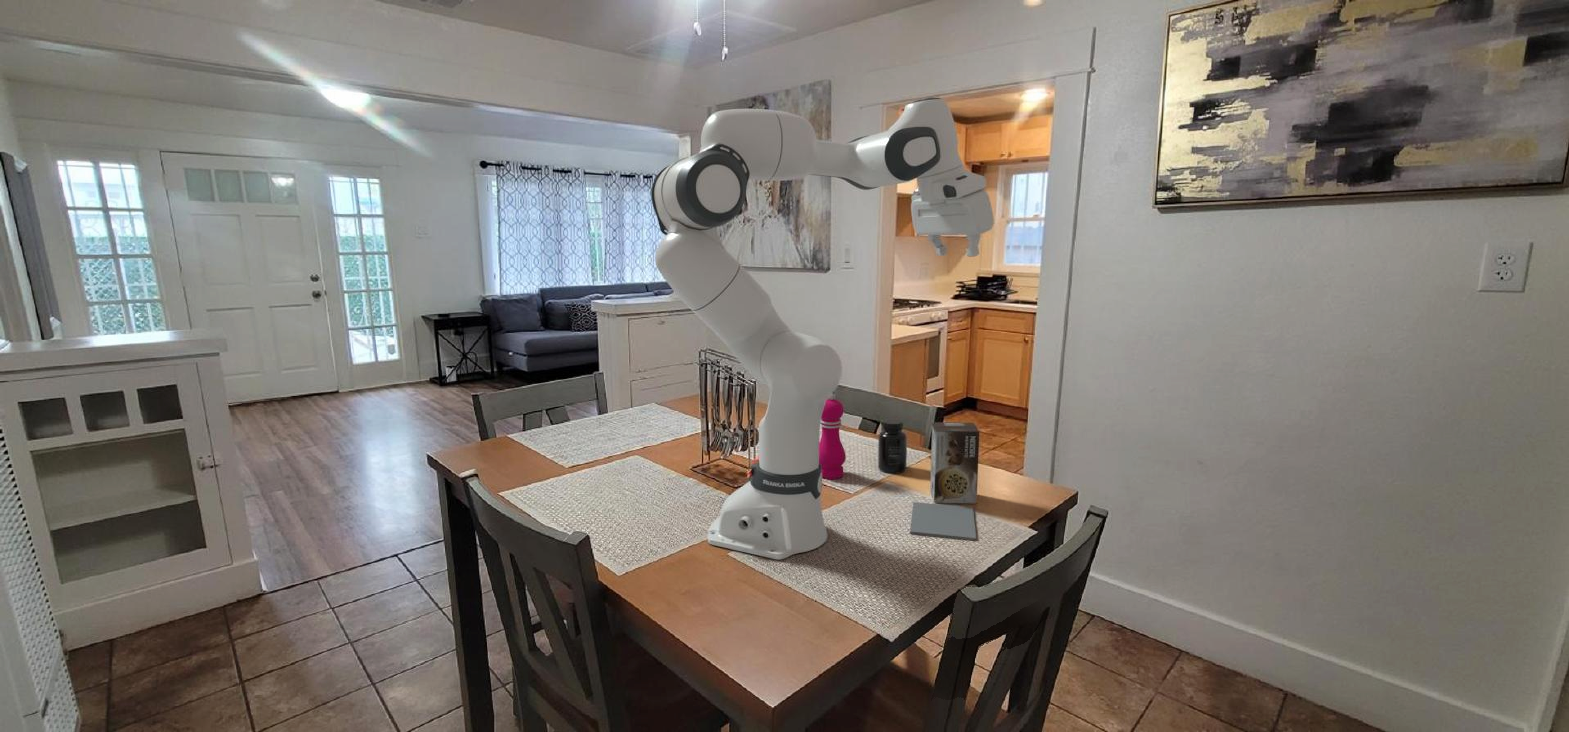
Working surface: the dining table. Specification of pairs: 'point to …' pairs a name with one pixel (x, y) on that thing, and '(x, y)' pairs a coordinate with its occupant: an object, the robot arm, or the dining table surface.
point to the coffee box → (954, 462)
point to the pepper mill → (831, 440)
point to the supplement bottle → (892, 447)
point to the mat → (943, 521)
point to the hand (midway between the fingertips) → (957, 255)
